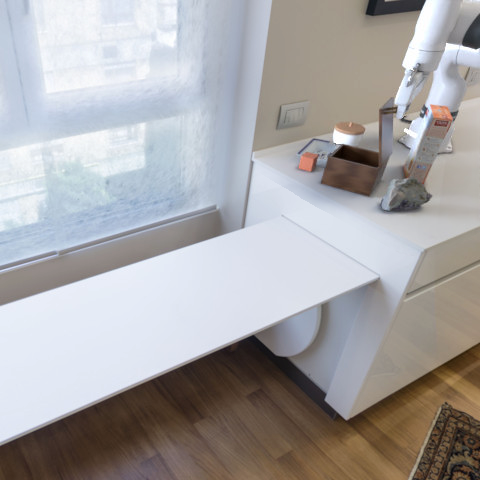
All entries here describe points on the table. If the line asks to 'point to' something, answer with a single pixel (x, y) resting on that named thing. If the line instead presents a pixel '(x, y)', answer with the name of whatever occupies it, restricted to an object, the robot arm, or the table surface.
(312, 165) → the block
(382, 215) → the table surface
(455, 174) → the table surface
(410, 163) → the cracker box
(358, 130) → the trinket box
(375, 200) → the table surface
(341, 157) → the chest
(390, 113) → the lid
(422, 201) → the mineral rock
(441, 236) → the table surface
